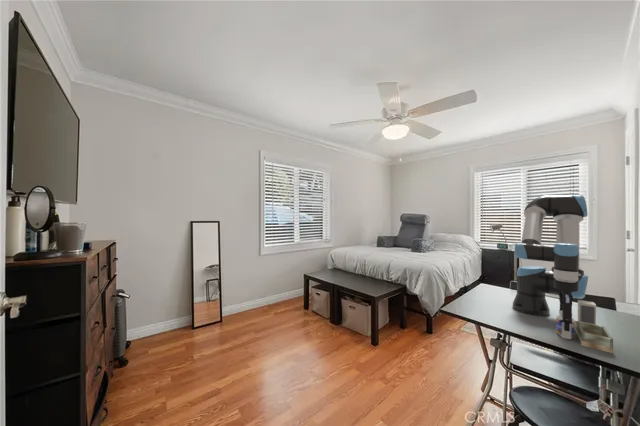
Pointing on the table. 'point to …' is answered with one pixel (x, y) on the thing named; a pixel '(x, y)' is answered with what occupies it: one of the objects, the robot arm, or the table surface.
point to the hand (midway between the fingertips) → (565, 334)
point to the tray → (594, 336)
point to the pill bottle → (559, 325)
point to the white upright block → (587, 312)
